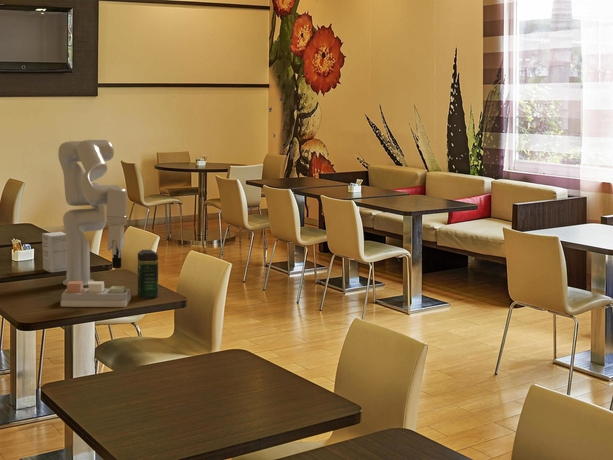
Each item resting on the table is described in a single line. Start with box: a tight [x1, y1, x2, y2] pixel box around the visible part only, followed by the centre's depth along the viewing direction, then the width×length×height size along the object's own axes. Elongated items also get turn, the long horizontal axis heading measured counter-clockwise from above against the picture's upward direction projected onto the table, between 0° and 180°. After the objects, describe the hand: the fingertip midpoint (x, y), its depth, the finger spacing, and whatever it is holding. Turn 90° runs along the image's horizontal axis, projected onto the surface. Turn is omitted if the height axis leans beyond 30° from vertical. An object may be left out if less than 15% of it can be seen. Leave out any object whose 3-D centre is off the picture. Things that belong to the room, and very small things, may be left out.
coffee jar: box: [137, 249, 159, 299], centre depth 328 cm, size 10×8×19 cm
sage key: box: [110, 285, 126, 293], centre depth 316 cm, size 5×5×4 cm
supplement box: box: [41, 231, 67, 273], centre depth 375 cm, size 10×9×17 cm
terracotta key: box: [66, 281, 84, 293], centre depth 315 cm, size 5×5×4 cm
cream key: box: [87, 280, 105, 293], centre depth 315 cm, size 5×5×4 cm
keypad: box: [60, 287, 132, 308], centre depth 316 cm, size 13×24×4 cm, turn 93°
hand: (116, 267), depth 315 cm, fingers closed
